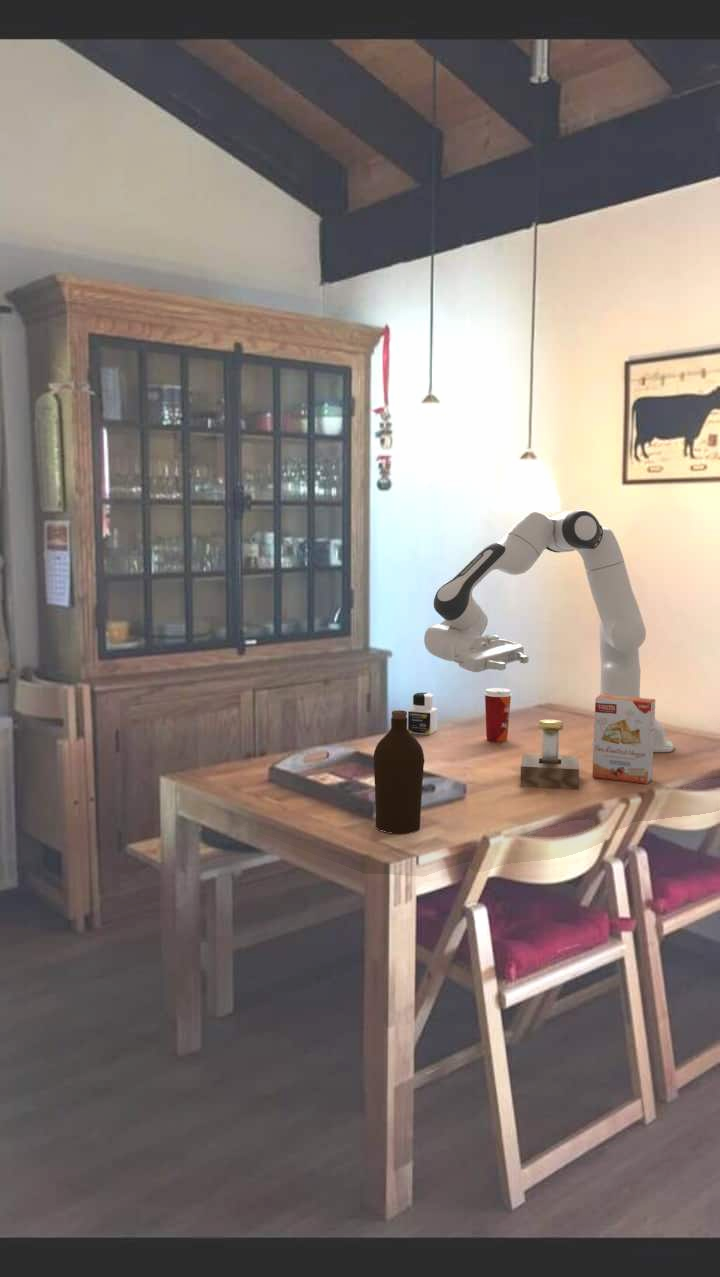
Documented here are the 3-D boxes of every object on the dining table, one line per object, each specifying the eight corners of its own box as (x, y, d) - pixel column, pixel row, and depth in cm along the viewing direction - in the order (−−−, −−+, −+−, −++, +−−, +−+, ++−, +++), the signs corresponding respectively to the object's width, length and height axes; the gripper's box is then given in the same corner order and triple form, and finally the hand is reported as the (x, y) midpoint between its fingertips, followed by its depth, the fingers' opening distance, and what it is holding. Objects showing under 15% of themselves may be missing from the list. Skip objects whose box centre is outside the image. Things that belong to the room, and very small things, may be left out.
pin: (561, 778, 263) (563, 720, 261) (561, 784, 257) (563, 724, 256) (537, 777, 264) (539, 719, 263) (537, 783, 258) (538, 723, 257)
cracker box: (591, 778, 264) (594, 697, 261) (597, 773, 269) (600, 693, 267) (647, 785, 257) (651, 701, 255) (652, 779, 263) (655, 698, 260)
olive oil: (396, 838, 213) (398, 718, 210) (362, 826, 221) (363, 710, 218) (433, 828, 220) (435, 712, 217) (398, 817, 228) (400, 705, 225)
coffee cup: (512, 742, 304) (513, 692, 303) (484, 742, 305) (485, 691, 303) (508, 736, 313) (510, 687, 311) (481, 736, 313) (482, 687, 311)
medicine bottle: (407, 733, 317) (408, 694, 315) (415, 728, 323) (415, 690, 322) (429, 735, 314) (430, 696, 313) (437, 730, 321) (437, 692, 319)
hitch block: (577, 775, 266) (578, 756, 266) (578, 789, 253) (579, 769, 252) (522, 772, 269) (522, 753, 268) (520, 786, 255) (520, 766, 255)
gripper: (449, 647, 269) (490, 659, 259) (498, 633, 283) (540, 645, 273) (447, 670, 271) (489, 683, 261) (497, 656, 284) (538, 667, 275)
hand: (515, 663), depth 267 cm, fingers open, 8 cm apart
